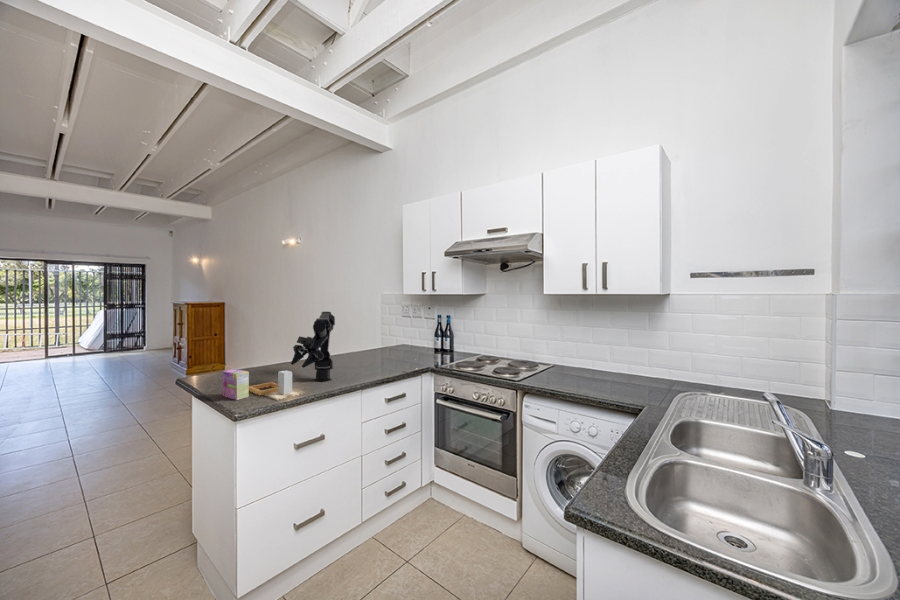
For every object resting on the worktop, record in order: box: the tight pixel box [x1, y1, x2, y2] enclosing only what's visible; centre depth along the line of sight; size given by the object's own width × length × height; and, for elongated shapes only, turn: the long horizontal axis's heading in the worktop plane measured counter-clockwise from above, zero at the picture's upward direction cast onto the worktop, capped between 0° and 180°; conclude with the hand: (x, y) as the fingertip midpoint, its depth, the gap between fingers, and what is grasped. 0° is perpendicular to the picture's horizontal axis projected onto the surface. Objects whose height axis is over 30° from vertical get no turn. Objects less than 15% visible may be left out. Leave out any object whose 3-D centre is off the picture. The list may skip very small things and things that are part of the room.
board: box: [264, 387, 306, 401], centre depth 171 cm, size 14×10×1 cm
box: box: [222, 368, 250, 401], centre depth 165 cm, size 10×6×12 cm, turn 62°
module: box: [277, 369, 293, 395], centre depth 171 cm, size 4×5×10 cm
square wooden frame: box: [249, 381, 278, 396], centre depth 176 cm, size 12×12×2 cm
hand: (296, 365), depth 175 cm, fingers open, 9 cm apart
